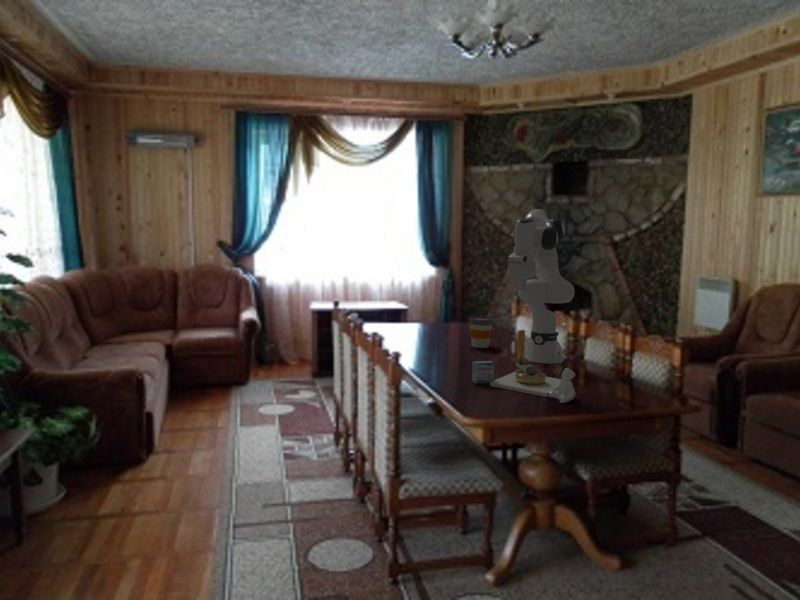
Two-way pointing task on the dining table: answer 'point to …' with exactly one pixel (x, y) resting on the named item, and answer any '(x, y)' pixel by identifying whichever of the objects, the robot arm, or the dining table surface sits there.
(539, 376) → the brass disc with post
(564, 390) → the seated beast figurine
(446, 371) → the dining table surface
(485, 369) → the medicine box
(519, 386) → the white rectangular board
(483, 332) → the reusable coffee cup
